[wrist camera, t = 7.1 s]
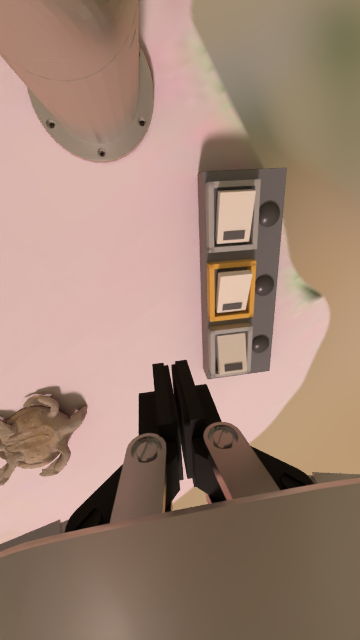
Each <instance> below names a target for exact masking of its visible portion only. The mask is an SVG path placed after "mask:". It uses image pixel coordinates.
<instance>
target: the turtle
mask: <svg viewBox="0 0 360 640" xmlns="http://www.w3.org/2000/svg"><path fill="white" fill-rule="evenodd" d="M33 405H37V406H33ZM38 405H42V406H41V407H40V406H38ZM23 406H24V407H25V406H26V407H27V408H25V409H23V410H20V411H18V412H17V413H16V414H14V415H13V416H11V417H10V419H9V420H8V421H7V423H4V422H3V421H2V420H1V419H0V457H1V458H3V459H5V460H7V464H6V465H5V466H4V467H2V468H1V469H0V486H1V485H3V484H5V483H6V482H7V480H8V479H9V478H10V476H11V474H12V472H13V471H14V469H15V468H16V467H17V466H18V467H22V468H24V469H26V468H31V469H33V468H38V467H42V466H44V465H46V464H48V463H50V462H51V461H53V460H54V459H55V458H56V457H57V456H58V455H59V454H60V453H61V454H60V456H59V458H58V459H56V460H55V461H54V462H53V463H52V464H50V466H49V467H47V468H46V469H42V473H40V474H39V475H41V476H52V475H56V474H58V473H59V472H60V471H61V470H62V469H63V468H64V467H65V466H66V465H67V462H68V461H69V458H70V455H71V452H70V450H69V447H68V445H67V444H68V441H69V439H70V437H71V435H72V434H73V432H74V431H75V430H76V429H77V428H78V427H79V426H80V425H81V424H82V422H83V420H84V419H85V416H86V414H87V406H86V405H85V406H83V407H82V408H81V409H80V410H78V411H77V412H76V413H75V414H73V416H72V417H71V418H70V417H69V416H67V415H65V414H64V413H62V412H60V411H59V404H58V402H57V401H56V400H55V399H53V398H51V397H48V396H44V395H36V396H33V397H31V398H29V399H28V400H27V401H26V402H25V404H24V405H23ZM29 406H33V407H29ZM43 406H46V407H43ZM49 407H51V408H49Z"/></svg>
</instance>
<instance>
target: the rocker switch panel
mask: <svg viewBox="0 0 360 640" xmlns="http://www.w3.org/2000/svg"><path fill="white" fill-rule="evenodd" d="M286 171H287V168H269V169H247V170H226V171H204V172H202V173H200V174H199V175H198V204H199V239H200V274H201V309H202V343H203V369H204V372H205V374H206V377H207V379H213V378H221V377H228V376H235V375H242V374H250V373H257V372H264V371H269V369H270V357H271V346H272V334H273V323H274V311H275V299H276V288H277V276H278V265H279V253H280V242H281V230H282V218H283V206H284V195H285V184H286V183H285V182H286ZM245 189H253V190H255V191H256V194H255V201H254V209H253V216H252V223H251V230H250V238H249V241H248V242H236V243H223V244H217V243H216V242H215V230H216V213H217V196H218V191H227V190H245ZM242 270H250V271H251V272H252V279H251V285H250V290H249V295H248V300H247V305H246V310H241V311H232V312H223V313H217V312H216V310H215V303H216V293H217V283H218V273H220V272H231V271H242ZM235 332H244V333H245V339H246V357H247V371H245V372H238V373H230V374H223V375H220V374H219V373H218V362H217V348H216V335H219V334H227V333H235Z"/></svg>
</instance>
